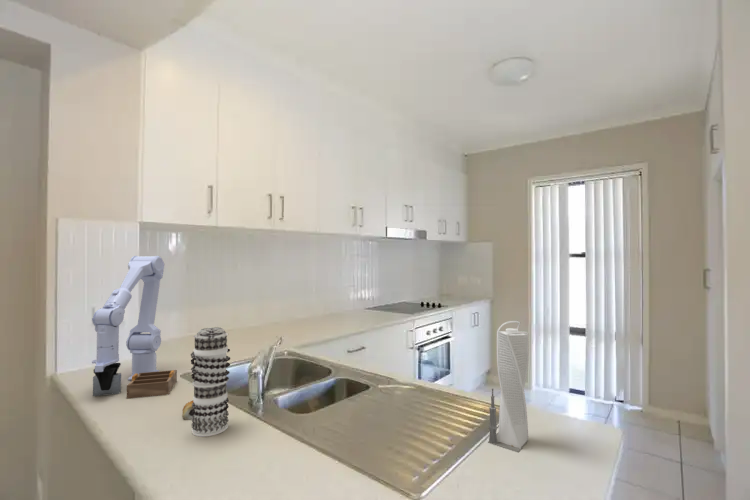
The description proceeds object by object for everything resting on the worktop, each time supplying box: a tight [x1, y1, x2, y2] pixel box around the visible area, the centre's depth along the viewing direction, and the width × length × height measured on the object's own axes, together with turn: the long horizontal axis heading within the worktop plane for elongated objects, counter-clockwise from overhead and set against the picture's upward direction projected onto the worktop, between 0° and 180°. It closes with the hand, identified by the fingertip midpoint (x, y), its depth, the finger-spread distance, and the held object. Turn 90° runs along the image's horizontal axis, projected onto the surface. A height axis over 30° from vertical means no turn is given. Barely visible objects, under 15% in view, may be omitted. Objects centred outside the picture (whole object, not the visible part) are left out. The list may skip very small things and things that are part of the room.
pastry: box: [181, 399, 194, 421], centre depth 105 cm, size 9×7×4 cm
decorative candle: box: [190, 326, 231, 438], centre depth 95 cm, size 9×9×25 cm
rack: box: [126, 369, 178, 400], centre depth 123 cm, size 14×11×5 cm
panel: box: [92, 372, 122, 397], centre depth 119 cm, size 2×7×6 cm, turn 108°
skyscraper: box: [487, 320, 530, 453], centre depth 88 cm, size 8×8×28 cm
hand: (107, 388), depth 119 cm, fingers closed on panel, 2 cm apart
